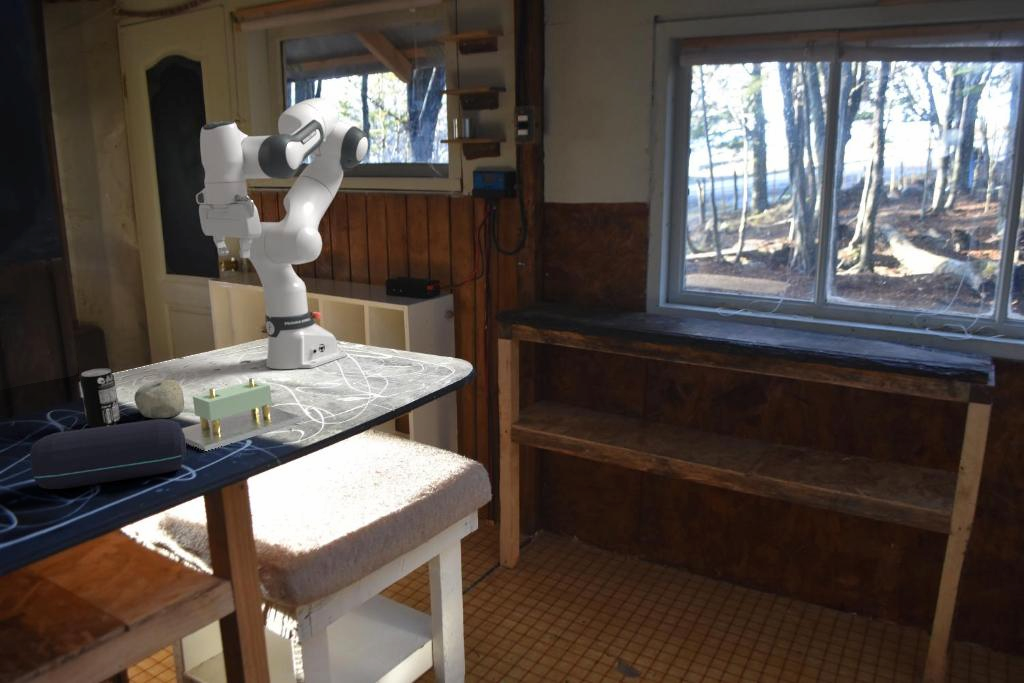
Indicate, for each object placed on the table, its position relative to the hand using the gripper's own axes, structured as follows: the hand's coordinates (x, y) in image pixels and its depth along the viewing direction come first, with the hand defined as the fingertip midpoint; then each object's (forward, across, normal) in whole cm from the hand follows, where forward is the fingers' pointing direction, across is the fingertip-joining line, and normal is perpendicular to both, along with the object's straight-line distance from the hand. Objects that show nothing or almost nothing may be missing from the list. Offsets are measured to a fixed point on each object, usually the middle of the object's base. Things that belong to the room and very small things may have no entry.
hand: (234, 256), depth 183 cm
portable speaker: (+34, -24, +42) cm, 59 cm away
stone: (+34, +6, +19) cm, 40 cm away
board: (+30, -18, +14) cm, 37 cm away
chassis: (+34, -18, +14) cm, 41 cm away
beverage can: (+34, +10, +30) cm, 47 cm away
